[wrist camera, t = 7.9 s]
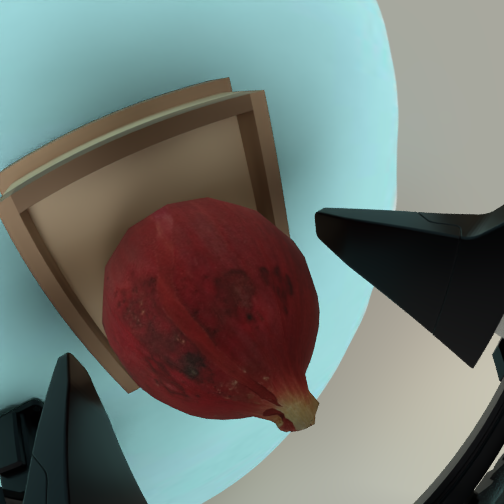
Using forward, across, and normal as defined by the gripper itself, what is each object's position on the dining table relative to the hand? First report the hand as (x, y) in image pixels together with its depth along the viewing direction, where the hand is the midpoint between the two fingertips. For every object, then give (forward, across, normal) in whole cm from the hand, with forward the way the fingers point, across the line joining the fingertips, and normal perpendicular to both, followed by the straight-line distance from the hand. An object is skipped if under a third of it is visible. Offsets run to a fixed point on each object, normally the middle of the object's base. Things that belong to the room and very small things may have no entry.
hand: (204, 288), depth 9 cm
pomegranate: (+3, 0, 0) cm, 3 cm away
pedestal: (+7, 0, 0) cm, 7 cm away
